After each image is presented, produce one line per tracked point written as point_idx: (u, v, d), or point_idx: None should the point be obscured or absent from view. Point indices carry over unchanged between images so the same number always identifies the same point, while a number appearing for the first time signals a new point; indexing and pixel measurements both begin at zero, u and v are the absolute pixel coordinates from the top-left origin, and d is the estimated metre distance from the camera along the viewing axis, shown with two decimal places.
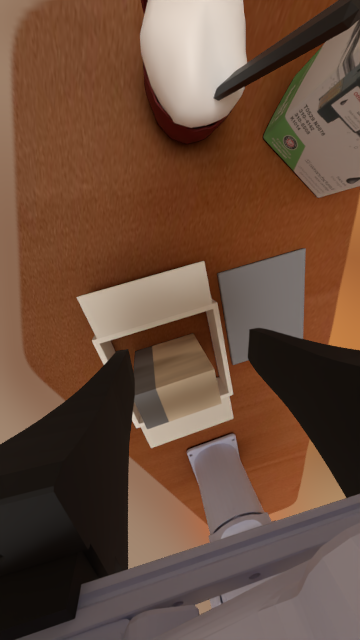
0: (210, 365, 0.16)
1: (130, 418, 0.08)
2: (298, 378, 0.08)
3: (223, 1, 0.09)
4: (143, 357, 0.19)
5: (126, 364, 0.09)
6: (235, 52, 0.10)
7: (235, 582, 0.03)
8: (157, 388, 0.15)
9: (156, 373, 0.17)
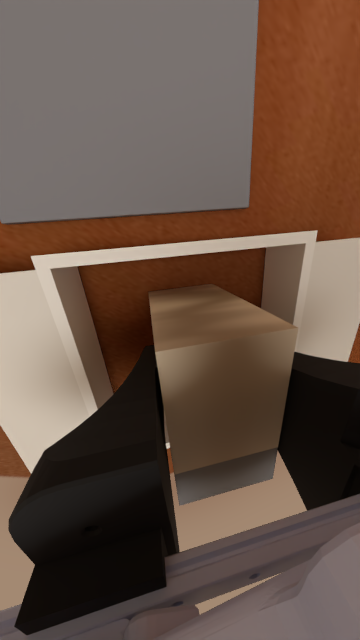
0: None
1: (163, 411, 0.09)
2: None
3: None
4: None
5: None
6: None
7: (235, 582, 0.03)
8: (175, 471, 0.06)
9: None
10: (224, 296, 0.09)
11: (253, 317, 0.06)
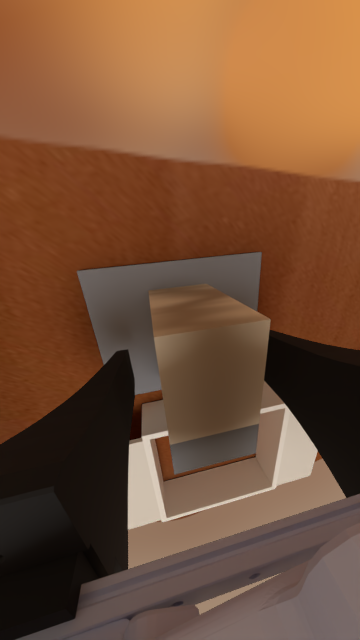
0: (153, 333, 0.06)
1: (130, 418, 0.08)
2: (298, 378, 0.08)
3: None
4: None
5: (126, 364, 0.09)
6: None
7: (235, 582, 0.03)
8: (170, 442, 0.08)
9: None
10: (215, 294, 0.10)
11: (236, 311, 0.07)
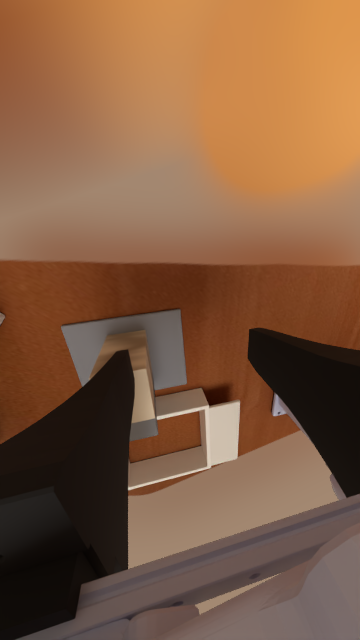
0: None
1: (130, 418, 0.08)
2: (298, 378, 0.08)
3: None
4: None
5: (126, 364, 0.09)
6: None
7: (235, 582, 0.03)
8: None
9: None
10: (140, 344, 0.17)
11: (136, 361, 0.14)
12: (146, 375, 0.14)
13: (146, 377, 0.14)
